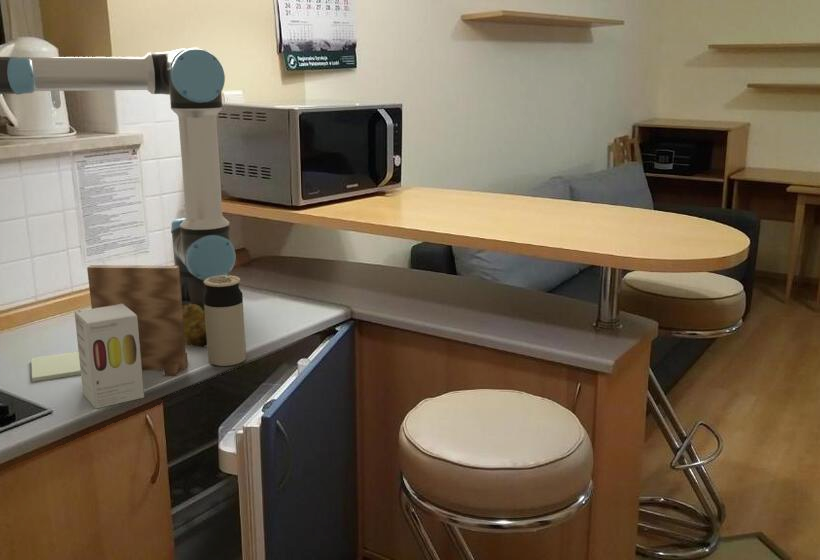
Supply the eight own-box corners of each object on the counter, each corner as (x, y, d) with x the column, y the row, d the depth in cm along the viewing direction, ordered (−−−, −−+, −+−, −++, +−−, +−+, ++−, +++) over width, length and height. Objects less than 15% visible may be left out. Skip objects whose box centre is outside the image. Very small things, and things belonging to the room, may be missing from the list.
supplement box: (94, 410, 146) (84, 323, 141) (81, 393, 153) (71, 310, 148) (146, 397, 151) (138, 313, 146) (131, 382, 158) (123, 301, 154)
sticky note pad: (82, 354, 173) (81, 350, 173) (86, 373, 162) (85, 369, 162) (31, 361, 169) (31, 358, 168) (32, 381, 158) (32, 377, 158)
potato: (176, 352, 174) (173, 318, 172) (175, 333, 186) (173, 301, 184) (215, 348, 176) (212, 314, 174) (212, 330, 188) (209, 298, 186)
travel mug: (215, 369, 164) (209, 287, 160) (203, 358, 171) (197, 278, 166) (251, 362, 169) (247, 281, 164) (238, 351, 175) (233, 272, 170)
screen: (191, 361, 169) (183, 262, 163) (179, 376, 161) (171, 272, 155) (108, 360, 169) (97, 261, 163) (92, 375, 162) (80, 271, 156)
